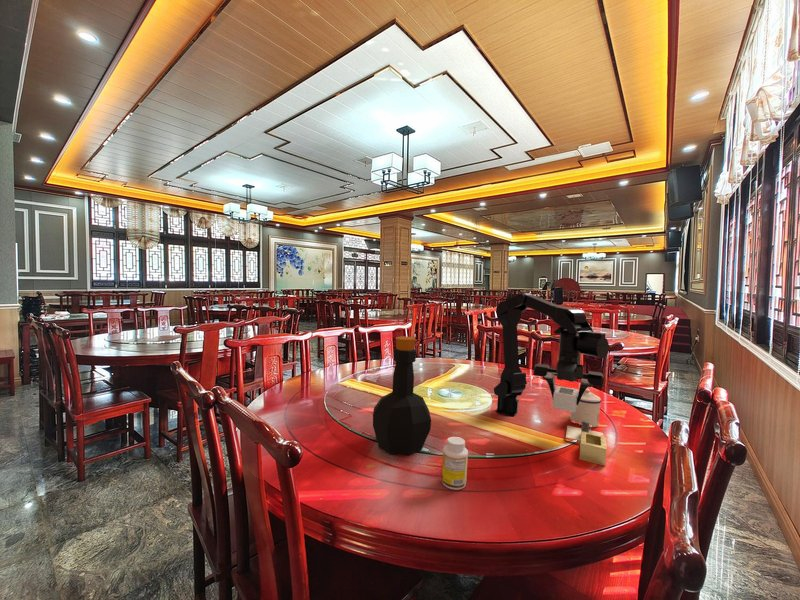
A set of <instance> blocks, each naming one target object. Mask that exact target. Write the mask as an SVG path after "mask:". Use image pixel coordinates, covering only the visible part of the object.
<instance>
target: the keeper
mask: <svg viewBox="0 0 800 600" xmlns="http://www.w3.org/2000/svg"><path fill="white" fill-rule="evenodd" d="M589 424H590V423H589V422H587V421H582V426H581V427H575V426H572V425H571V426H570V425H567V426H566V427H567V428H566V432H565V434H566V435H565V439H566V438H569V439H575V440H577V443H576V444H578V445H580V444H581V432H582V431H583V432H587V433H592V434H597V435H601V436H604V433H603V432H599V431H596V430H595V431H594V430H590V427H589Z"/></svg>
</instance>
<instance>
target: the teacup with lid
mask: <svg viewBox="0 0 800 600" xmlns="http://www.w3.org/2000/svg"><path fill="white" fill-rule="evenodd" d="M578 393H579V391H578ZM601 403H602V399H601V397H599V396H598V395H596V394H594V393H593V392H591V390H590V389H589V388H587V389H586V390H585V392H584V393H583V395H582V397H581V399H580V402H579V404H578V405H577V407H576V411H575V412H570V417H569V420H570V419H571V420H573V421H575V422H578V423H581V424H582V421H587V422H589V423H590V425H592V427H591V428H596V427H598V426H599V422H600V420H599V419H600V410H601ZM571 420H570V421H571Z"/></svg>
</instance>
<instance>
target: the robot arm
mask: <svg viewBox="0 0 800 600" xmlns="http://www.w3.org/2000/svg"><path fill="white" fill-rule="evenodd" d="M495 309H496V316H497V321H498V322H499V324H500V325H501V327H502V339H503V340H502V341H503V343H502V344H503V361H504V368H503V369H502V372H501V374H500V381H499V383H498V384H497V385H496V386H495V387H494V388H493V392H494V395H495V396H497V401H496V402H497V406H496V410H495V413H498V414H501V415H506V416H511V417H514V416H516V414H518V413H519V403H520V401H519V399H518V397H519V396H522V393H523V392H524V390H525V389H526V385H527V384H528V382H527V373H526V372H523V370H522V369H521V368H520V358H519V357H520V355H519V340H518V339H519V338H518V337H519V335H518V325H519V323H520V322H521V319H522V313H523V312H525V311H526V310H527V309H532V310H534V311H535V312H538V313H540V314H542V315H544V316H547V317H549V318H550V319H552V321H553V322H554V323H555V324H556V325H558V326H559V327H558V328H557V329H555V330H554V331H553V334H555V335H559V346H558V358H557V363H556V368H551V367H550V365H549V364H544V363H537V364H535V366H534V367H533V369H532V370H533V371H532V372H533V373H532V374H533V376H534V377H535V376H536V377H542V380H544V381H546V382H547V385H548V387H549V389H550V394H551V397H552V399H553V395H554V391H555V389H556V379H557V380H559V381H568V382H570V383H571V382H573V383H574V382H575V381H576V380H581V382H580V383H579V384H580V386H579V389H578V392H579V393H578V397H577V404H576V405H578V404H579V402H580V399H581V397H582V395H583V393H584V392H585V390H586V389H588V388H592V387H593V386H597V387H604V380H605V379H604V378H605V377H604V374H603V373H602V372H599V371H592V370H588V373H584V368H585V365H583V364H580V359H581V358H580V357H581V354H582V355H585V356H590V357H596V358H599V359H604V358H606V357H607V355H608V354H609V350H610V343H609V340H608V339H607V338H606V335H607V334H606V333H605V332H594V330H593V328H592V326H591V325H590V323H589V320H588V319H587V315H586V312H585V311H584V310H583V309H580V308H574V307H569V306H561V305H559V304H556V303H554V302H551V301H548V300H546V299H544V298H542V297H539V296H536V295H534V294H532V293H530V292H520V293H518V294H517V295H515V296H513V297H511V298H507V299H505V300H504V301H500V302H498V304H497V305H496V308H495Z"/></svg>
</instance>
